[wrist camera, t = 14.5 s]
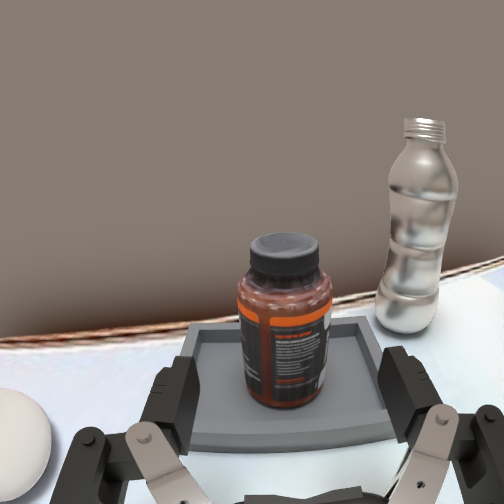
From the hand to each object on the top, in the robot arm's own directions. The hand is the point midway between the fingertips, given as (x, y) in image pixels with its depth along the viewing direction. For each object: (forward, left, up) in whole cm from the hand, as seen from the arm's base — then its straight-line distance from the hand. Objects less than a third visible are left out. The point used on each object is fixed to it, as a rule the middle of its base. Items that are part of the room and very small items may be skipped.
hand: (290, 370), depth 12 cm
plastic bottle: (-13, -15, -10) cm, 22 cm away
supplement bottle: (0, -7, -9) cm, 11 cm away
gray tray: (0, -8, -9) cm, 12 cm away
